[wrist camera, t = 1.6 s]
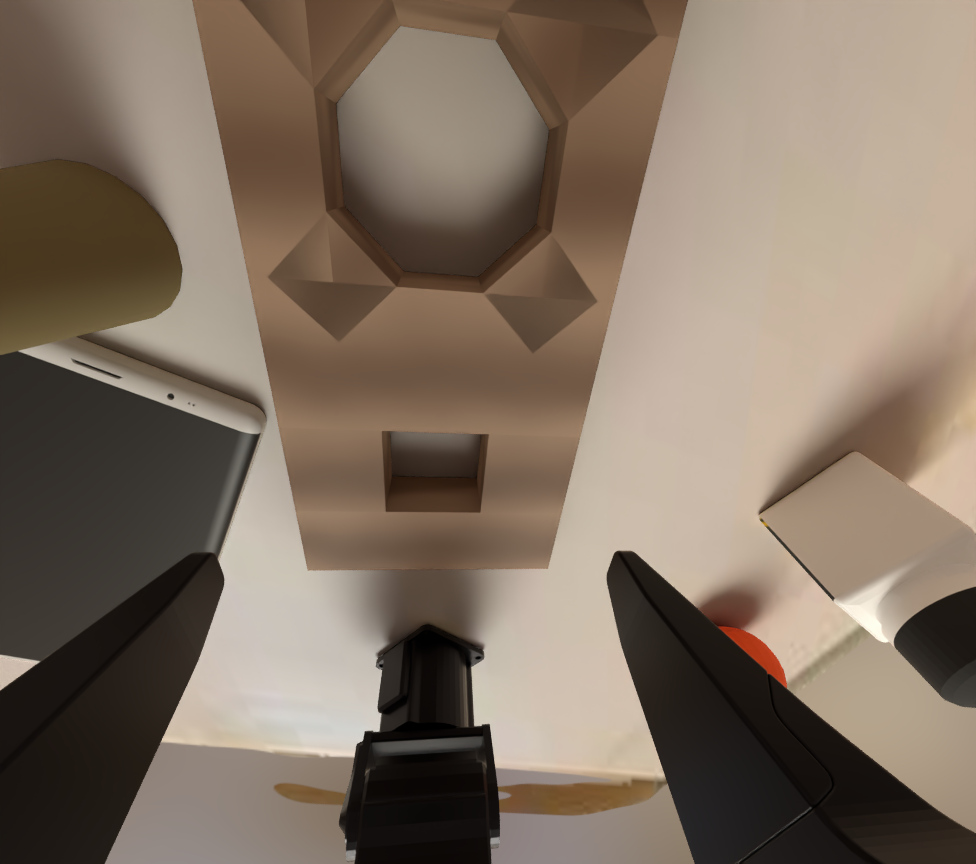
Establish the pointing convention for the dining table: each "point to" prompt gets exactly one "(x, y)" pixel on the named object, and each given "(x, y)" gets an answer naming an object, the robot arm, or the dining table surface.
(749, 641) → the clementine
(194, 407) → the smartphone
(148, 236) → the cork
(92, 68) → the dining table surface
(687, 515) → the dining table surface
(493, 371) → the bore caddy
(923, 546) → the medicine bottle
